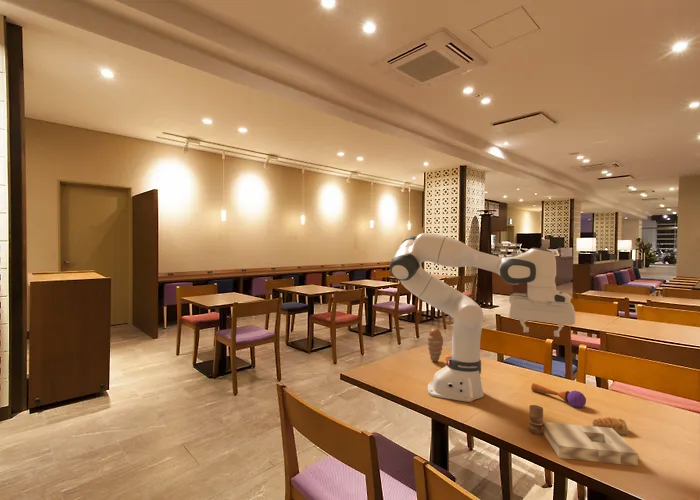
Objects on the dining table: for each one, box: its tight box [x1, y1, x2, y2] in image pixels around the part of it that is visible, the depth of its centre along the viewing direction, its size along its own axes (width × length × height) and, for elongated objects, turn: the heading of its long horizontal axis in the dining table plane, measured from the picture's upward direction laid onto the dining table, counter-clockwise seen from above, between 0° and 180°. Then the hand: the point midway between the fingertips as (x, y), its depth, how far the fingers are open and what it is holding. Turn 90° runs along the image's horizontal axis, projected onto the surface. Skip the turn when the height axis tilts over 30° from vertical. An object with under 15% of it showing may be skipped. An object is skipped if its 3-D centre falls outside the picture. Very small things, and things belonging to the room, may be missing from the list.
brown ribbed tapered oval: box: [427, 326, 444, 363], centre depth 188 cm, size 9×8×18 cm
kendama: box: [530, 383, 587, 409], centre depth 143 cm, size 6×6×20 cm
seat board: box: [542, 421, 639, 467], centre depth 109 cm, size 20×14×4 cm
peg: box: [528, 404, 544, 436], centre depth 118 cm, size 4×4×8 cm
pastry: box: [592, 416, 629, 436], centre depth 120 cm, size 9×7×4 cm
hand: (540, 334), depth 126 cm, fingers open, 8 cm apart
